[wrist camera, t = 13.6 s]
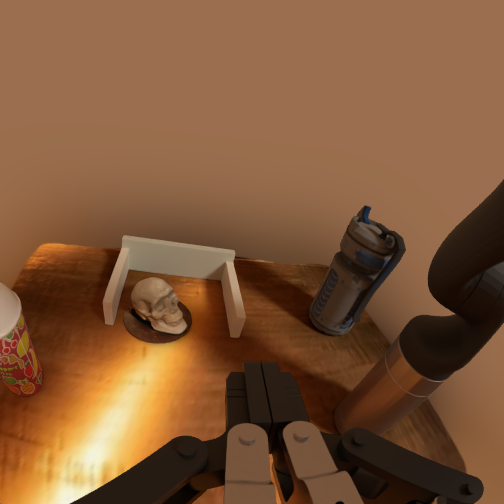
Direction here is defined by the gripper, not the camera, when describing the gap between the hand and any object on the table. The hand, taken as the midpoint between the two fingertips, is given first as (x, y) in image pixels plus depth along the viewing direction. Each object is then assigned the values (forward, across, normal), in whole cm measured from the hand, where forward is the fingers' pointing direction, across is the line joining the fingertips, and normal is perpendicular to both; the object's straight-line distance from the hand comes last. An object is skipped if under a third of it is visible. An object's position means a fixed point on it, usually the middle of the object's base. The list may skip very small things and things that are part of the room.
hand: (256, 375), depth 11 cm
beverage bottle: (+38, -22, +20) cm, 48 cm away
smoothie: (+12, +29, +19) cm, 37 cm away
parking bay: (+37, +10, +15) cm, 41 cm away
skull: (+32, +12, +17) cm, 38 cm away
